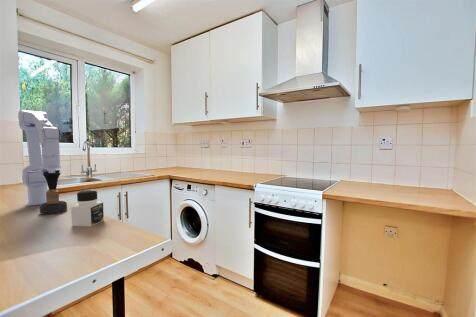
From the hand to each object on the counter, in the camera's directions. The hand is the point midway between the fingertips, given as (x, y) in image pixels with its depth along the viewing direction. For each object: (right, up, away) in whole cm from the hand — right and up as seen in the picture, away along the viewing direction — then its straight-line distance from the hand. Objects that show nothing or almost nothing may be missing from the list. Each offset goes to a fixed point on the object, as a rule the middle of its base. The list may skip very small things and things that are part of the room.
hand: (52, 188), depth 97 cm
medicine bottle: (+24, -11, -14) cm, 30 cm away
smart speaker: (0, -10, +1) cm, 10 cm away
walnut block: (0, -6, 0) cm, 6 cm away
